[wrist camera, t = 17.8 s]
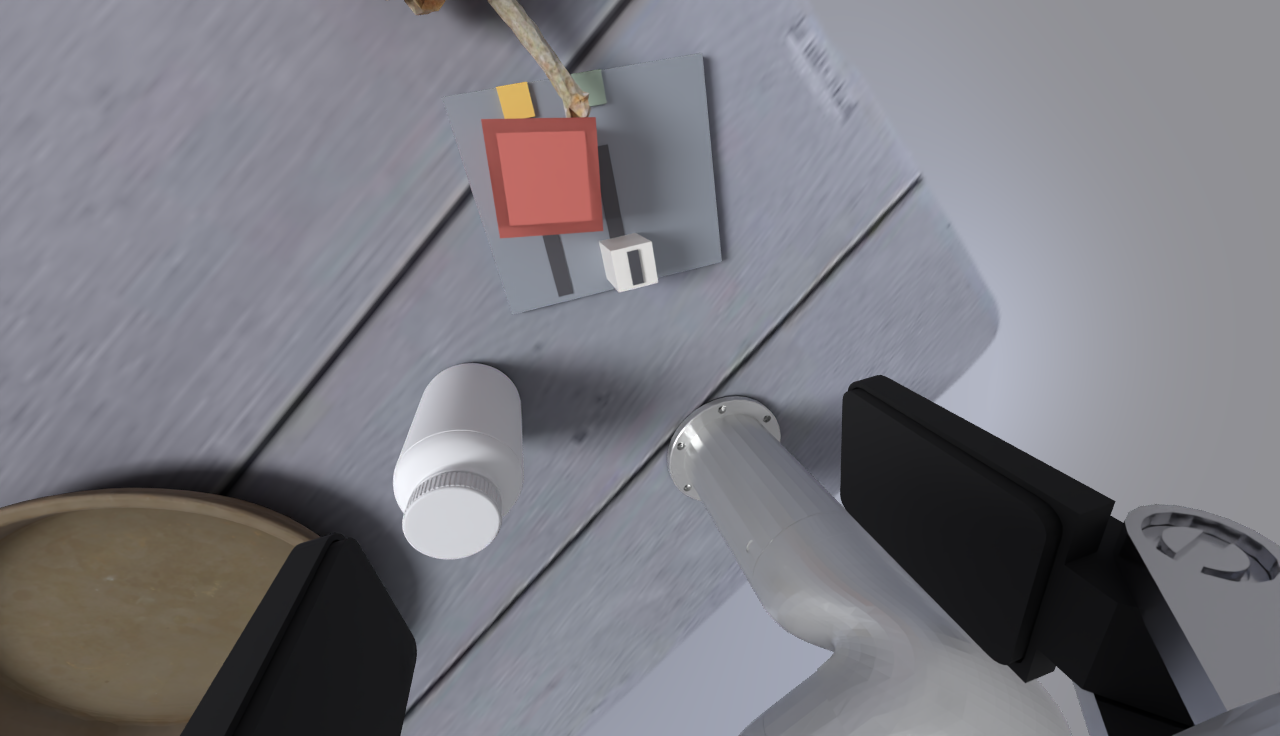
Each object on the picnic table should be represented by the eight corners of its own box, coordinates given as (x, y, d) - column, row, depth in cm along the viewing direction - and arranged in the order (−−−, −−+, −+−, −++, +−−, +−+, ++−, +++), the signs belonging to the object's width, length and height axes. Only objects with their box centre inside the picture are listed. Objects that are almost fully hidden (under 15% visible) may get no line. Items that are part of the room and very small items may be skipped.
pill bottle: (407, 372, 36) (351, 491, 23) (508, 351, 38) (510, 452, 25) (438, 452, 40) (404, 595, 27) (529, 430, 41) (540, 555, 28)
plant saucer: (134, 384, 32) (81, 416, 28) (454, 587, 47) (449, 628, 43) (-191, 637, 33) (-288, 703, 29) (222, 758, 48) (196, 813, 44)
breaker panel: (716, 259, 39) (747, 273, 34) (511, 311, 37) (512, 334, 32) (696, 55, 33) (731, 36, 28) (443, 99, 30) (430, 86, 25)
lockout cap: (589, 221, 34) (603, 231, 29) (502, 227, 33) (499, 238, 28) (581, 125, 32) (595, 117, 26) (486, 127, 30) (480, 119, 25)
